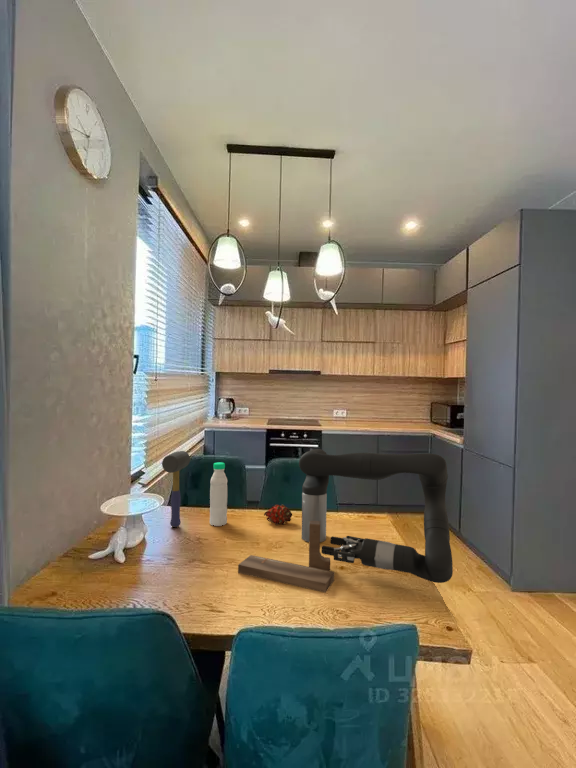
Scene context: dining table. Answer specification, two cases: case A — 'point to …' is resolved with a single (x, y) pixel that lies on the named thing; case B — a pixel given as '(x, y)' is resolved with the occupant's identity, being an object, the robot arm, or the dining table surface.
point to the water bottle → (218, 496)
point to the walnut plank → (287, 573)
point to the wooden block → (316, 548)
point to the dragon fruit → (278, 514)
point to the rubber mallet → (175, 481)
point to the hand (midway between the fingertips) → (326, 544)
